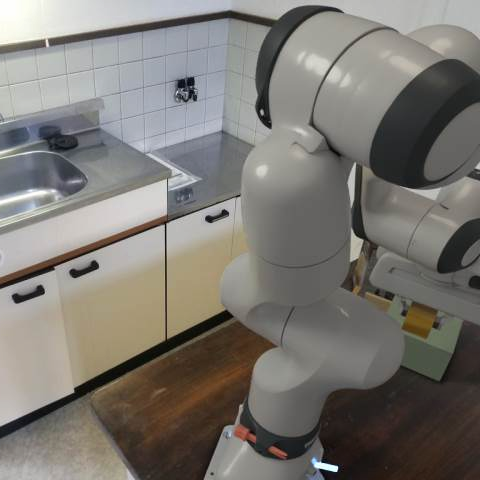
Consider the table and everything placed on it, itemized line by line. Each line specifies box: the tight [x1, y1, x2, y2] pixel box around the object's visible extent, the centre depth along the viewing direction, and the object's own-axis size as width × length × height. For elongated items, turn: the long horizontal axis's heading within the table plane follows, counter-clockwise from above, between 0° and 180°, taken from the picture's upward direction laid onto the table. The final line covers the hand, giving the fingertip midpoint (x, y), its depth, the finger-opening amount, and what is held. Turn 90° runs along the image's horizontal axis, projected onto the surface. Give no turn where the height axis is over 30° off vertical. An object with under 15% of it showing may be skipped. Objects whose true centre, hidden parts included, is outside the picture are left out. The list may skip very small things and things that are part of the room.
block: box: [402, 300, 438, 339], centre depth 92 cm, size 4×4×4 cm
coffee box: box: [352, 239, 387, 299], centre depth 120 cm, size 9×6×16 cm
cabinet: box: [386, 294, 464, 382], centre depth 107 cm, size 14×12×8 cm
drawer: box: [351, 285, 392, 313], centre depth 111 cm, size 14×10×6 cm
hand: (419, 320), depth 92 cm, fingers closed on block, 4 cm apart
